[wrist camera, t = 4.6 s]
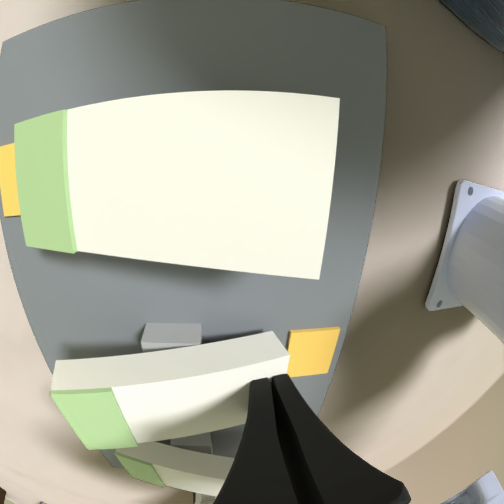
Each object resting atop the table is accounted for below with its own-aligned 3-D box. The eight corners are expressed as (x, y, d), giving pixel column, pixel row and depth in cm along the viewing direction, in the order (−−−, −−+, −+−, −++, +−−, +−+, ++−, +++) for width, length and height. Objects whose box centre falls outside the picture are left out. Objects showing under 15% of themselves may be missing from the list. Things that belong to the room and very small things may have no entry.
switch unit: (368, 34, 9) (403, 18, 7) (291, 455, 21) (298, 480, 18) (20, 47, 7) (-15, 37, 4) (114, 453, 19) (110, 478, 16)
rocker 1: (330, 106, 6) (341, 96, 5) (314, 252, 8) (319, 283, 6) (51, 120, 7) (14, 124, 6) (58, 228, 9) (26, 246, 7)
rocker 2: (272, 330, 12) (292, 358, 10) (264, 390, 13) (280, 416, 12) (55, 360, 9) (50, 394, 7) (87, 419, 10) (88, 449, 9)
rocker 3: (270, 462, 13) (268, 487, 12) (264, 483, 15) (262, 504, 13) (124, 432, 14) (114, 453, 12) (139, 458, 15) (131, 477, 14)
